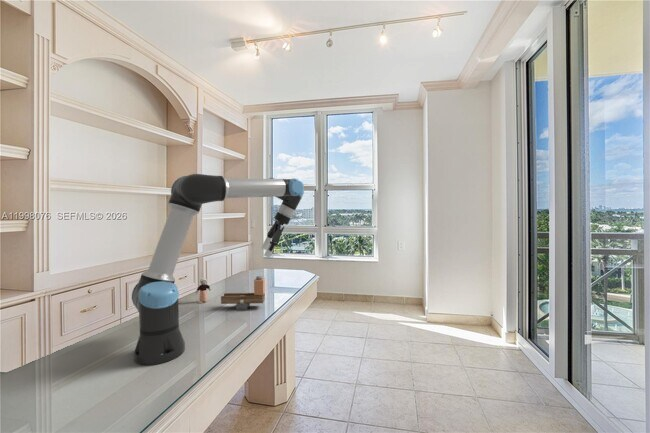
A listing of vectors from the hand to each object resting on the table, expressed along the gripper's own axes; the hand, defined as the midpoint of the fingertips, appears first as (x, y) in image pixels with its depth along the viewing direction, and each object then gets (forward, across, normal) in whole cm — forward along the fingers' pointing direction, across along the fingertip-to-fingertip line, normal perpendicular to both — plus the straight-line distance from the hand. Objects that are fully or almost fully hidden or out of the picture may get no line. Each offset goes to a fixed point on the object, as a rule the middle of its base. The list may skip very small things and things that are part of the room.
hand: (265, 252), depth 151 cm
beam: (+29, -3, -2) cm, 29 cm away
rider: (+20, -4, -7) cm, 22 cm away
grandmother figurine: (+39, +13, +14) cm, 44 cm away
